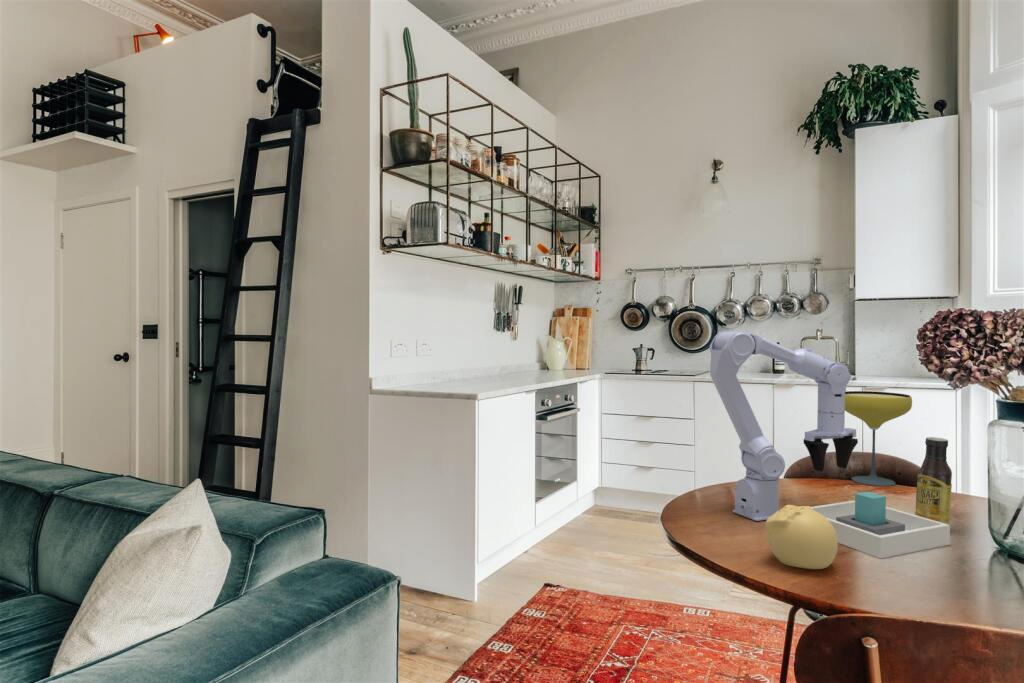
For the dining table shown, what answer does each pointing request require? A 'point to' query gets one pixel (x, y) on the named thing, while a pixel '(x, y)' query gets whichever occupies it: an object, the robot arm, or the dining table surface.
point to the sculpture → (801, 537)
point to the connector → (870, 508)
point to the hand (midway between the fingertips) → (830, 469)
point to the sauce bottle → (934, 483)
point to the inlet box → (885, 531)
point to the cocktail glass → (876, 420)
